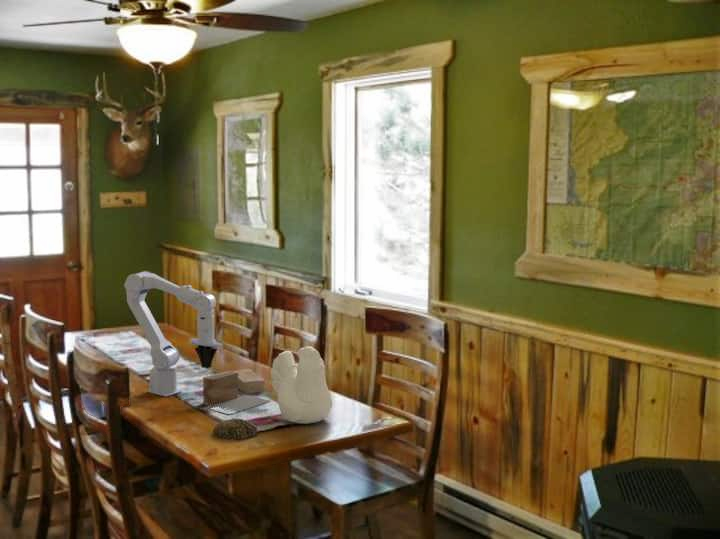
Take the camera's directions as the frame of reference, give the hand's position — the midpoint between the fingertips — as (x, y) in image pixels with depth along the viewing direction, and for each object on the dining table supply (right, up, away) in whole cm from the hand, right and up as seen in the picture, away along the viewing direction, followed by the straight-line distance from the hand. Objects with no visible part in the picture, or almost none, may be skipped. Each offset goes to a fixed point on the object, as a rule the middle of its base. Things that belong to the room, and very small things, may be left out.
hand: (206, 367), depth 273 cm
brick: (+12, -9, +15) cm, 22 cm away
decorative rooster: (+34, -14, -19) cm, 42 cm away
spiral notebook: (+13, -12, -8) cm, 19 cm away
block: (+6, -11, -3) cm, 13 cm away
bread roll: (+16, -16, -36) cm, 42 cm away
